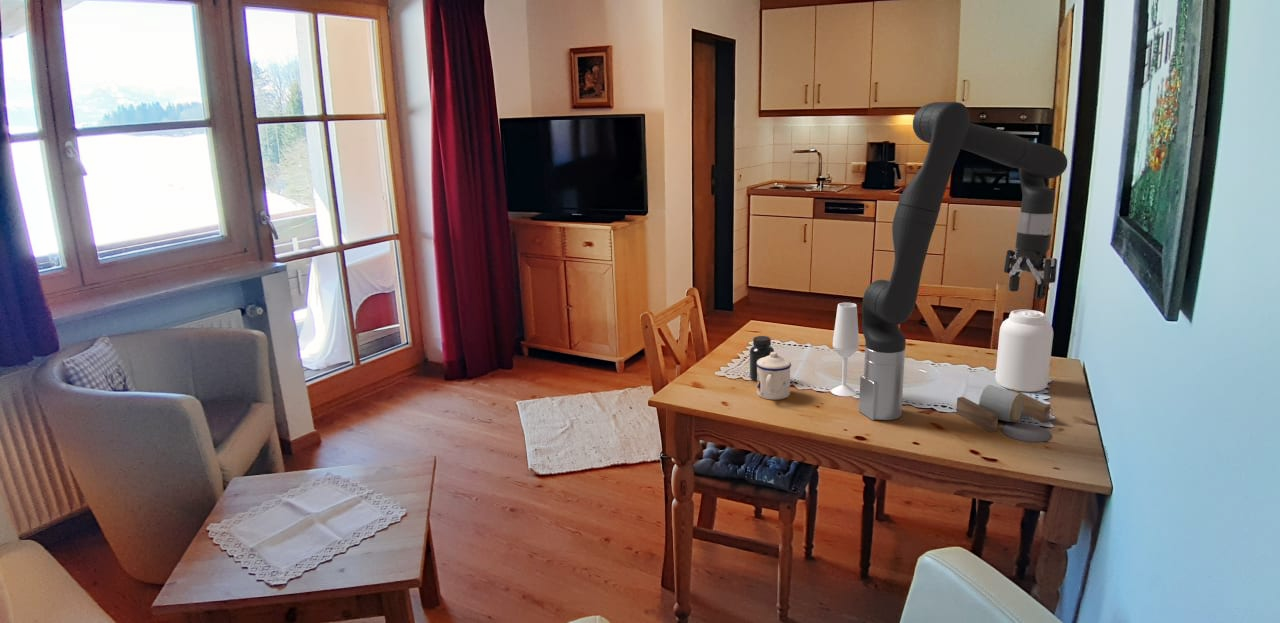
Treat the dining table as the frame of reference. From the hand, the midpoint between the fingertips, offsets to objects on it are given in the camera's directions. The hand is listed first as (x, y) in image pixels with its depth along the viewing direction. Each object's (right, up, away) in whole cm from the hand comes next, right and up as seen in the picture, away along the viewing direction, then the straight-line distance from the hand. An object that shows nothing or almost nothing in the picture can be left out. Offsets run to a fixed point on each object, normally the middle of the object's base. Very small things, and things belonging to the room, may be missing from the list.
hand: (1026, 294), depth 187 cm
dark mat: (-9, -32, -17) cm, 37 cm away
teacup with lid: (-62, -27, +10) cm, 68 cm away
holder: (-10, -30, -8) cm, 32 cm away
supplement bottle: (-63, -23, +23) cm, 71 cm away
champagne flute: (-43, -26, +12) cm, 51 cm away
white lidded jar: (+5, -24, +12) cm, 27 cm away
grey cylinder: (-10, -30, -8) cm, 32 cm away
